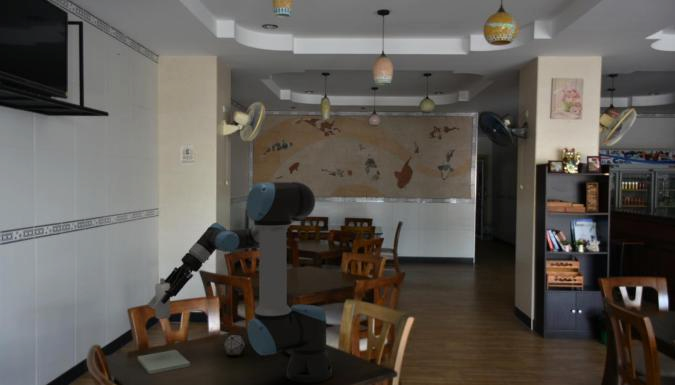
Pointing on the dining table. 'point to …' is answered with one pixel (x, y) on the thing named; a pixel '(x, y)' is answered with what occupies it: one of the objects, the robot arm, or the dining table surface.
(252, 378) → the dining table surface
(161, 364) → the sage board
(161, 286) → the grey bottle
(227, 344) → the game die
